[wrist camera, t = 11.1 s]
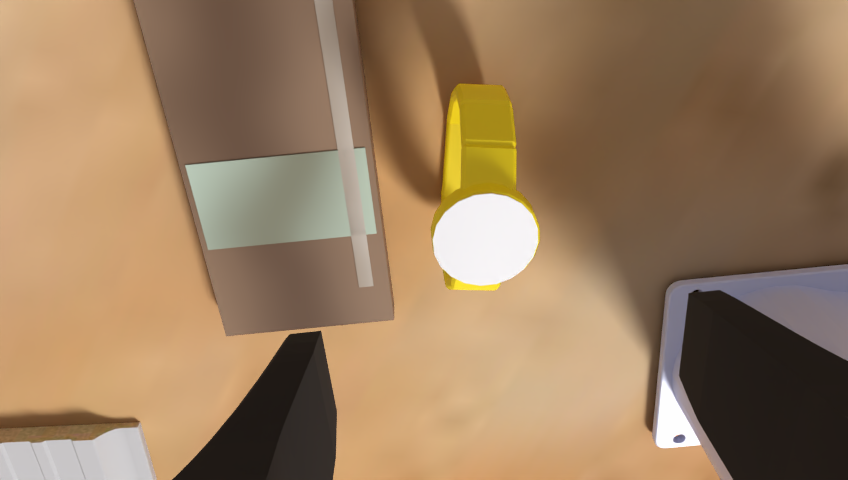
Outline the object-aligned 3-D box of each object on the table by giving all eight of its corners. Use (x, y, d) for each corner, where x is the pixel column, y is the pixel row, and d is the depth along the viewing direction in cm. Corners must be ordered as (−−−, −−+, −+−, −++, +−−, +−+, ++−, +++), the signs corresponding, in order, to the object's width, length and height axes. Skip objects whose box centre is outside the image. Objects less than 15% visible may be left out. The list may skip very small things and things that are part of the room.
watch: (496, 230, 24) (523, 339, 19) (418, 228, 24) (424, 337, 18) (518, 64, 21) (558, 140, 16) (428, 59, 20) (439, 136, 15)
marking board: (299, -425, 15) (293, -446, 14) (393, 304, 25) (394, 320, 24) (40, -399, 15) (17, -418, 14) (232, 320, 25) (226, 336, 24)
